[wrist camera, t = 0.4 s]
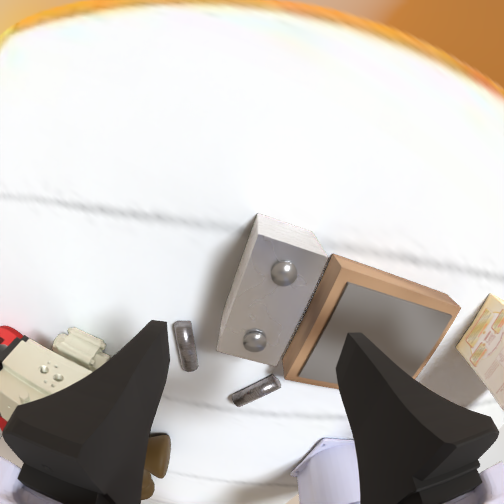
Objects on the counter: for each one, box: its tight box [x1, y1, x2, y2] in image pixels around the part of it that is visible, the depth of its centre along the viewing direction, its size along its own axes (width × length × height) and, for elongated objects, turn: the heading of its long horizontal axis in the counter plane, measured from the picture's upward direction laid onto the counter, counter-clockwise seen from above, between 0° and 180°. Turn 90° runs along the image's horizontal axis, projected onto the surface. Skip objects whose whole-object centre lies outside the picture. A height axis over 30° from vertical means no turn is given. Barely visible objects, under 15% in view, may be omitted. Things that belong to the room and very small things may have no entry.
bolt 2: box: [232, 375, 281, 407], centre depth 25 cm, size 4×1×1 cm, turn 126°
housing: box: [216, 213, 329, 366], centre depth 19 cm, size 8×4×5 cm, turn 161°
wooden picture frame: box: [282, 254, 461, 389], centre depth 22 cm, size 10×12×3 cm
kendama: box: [141, 435, 171, 500], centre depth 28 cm, size 6×10×20 cm
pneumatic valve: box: [0, 327, 110, 421], centre depth 19 cm, size 6×12×12 cm, turn 69°
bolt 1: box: [174, 321, 198, 372], centre depth 23 cm, size 4×1×1 cm, turn 2°
